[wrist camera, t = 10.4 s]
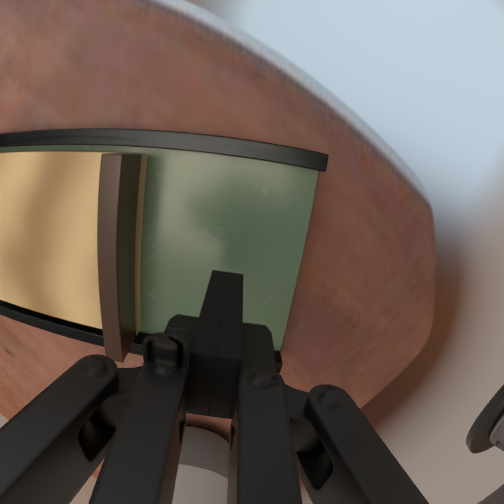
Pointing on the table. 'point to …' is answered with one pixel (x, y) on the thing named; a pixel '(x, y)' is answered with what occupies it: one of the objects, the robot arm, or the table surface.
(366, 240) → the table surface
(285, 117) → the table surface
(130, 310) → the carriage
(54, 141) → the rail base
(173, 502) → the smart speaker
